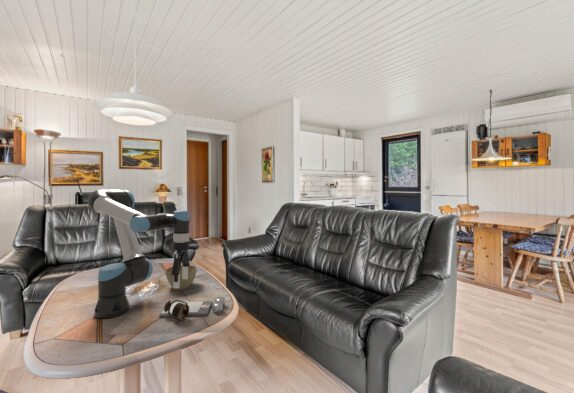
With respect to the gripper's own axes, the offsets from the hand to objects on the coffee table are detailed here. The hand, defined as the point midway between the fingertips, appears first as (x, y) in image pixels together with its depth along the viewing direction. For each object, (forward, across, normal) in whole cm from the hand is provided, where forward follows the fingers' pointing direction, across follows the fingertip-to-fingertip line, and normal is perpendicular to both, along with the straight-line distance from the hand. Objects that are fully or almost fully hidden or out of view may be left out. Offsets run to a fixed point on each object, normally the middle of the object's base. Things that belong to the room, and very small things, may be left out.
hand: (180, 283), depth 139 cm
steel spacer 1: (+13, +3, -19) cm, 23 cm away
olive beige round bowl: (+14, +33, +10) cm, 37 cm away
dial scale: (+13, 0, -4) cm, 14 cm away
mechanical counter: (+6, -6, -1) cm, 8 cm away
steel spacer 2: (+13, -3, -19) cm, 23 cm away
